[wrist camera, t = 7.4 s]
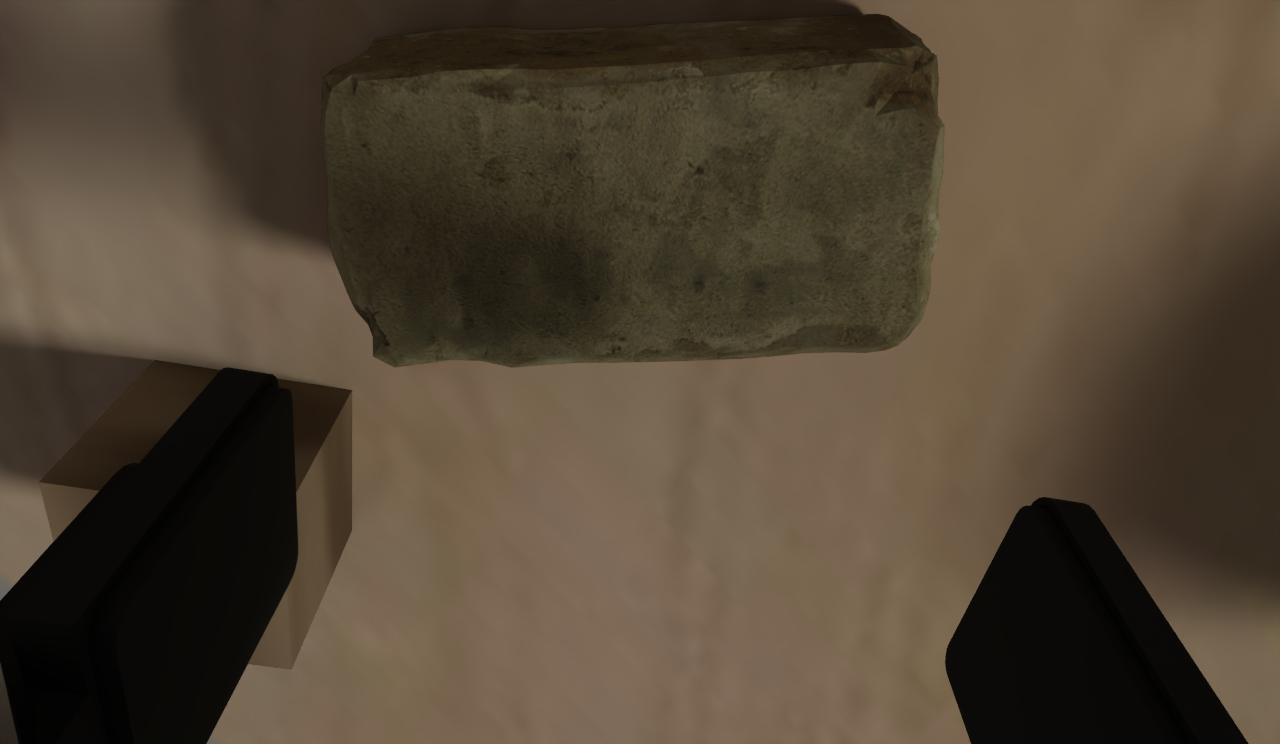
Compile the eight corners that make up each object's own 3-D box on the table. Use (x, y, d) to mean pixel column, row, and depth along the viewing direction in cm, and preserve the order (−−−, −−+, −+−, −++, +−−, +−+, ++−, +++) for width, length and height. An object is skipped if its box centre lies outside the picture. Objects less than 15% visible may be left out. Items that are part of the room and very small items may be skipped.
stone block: (879, 255, 20) (937, 366, 16) (404, 278, 21) (340, 390, 17) (904, -7, 17) (983, 44, 13) (347, 27, 18) (250, 87, 14)
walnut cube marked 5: (353, 388, 23) (279, 523, 18) (352, 529, 25) (288, 675, 21) (156, 358, 22) (33, 488, 18) (177, 504, 25) (73, 648, 20)
